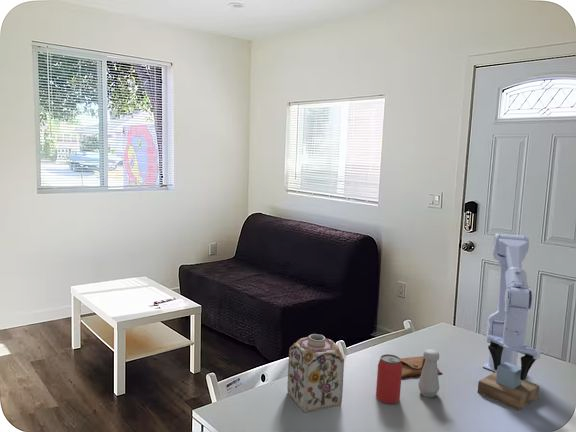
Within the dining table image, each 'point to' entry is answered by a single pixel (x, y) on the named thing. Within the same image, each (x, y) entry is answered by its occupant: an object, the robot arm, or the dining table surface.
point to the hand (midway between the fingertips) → (509, 373)
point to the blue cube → (508, 375)
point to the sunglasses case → (413, 366)
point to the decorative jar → (315, 373)
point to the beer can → (389, 379)
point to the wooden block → (508, 392)
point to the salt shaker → (429, 374)
